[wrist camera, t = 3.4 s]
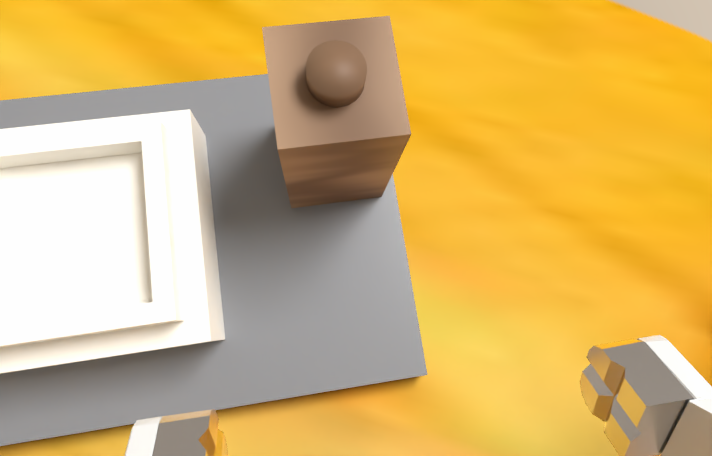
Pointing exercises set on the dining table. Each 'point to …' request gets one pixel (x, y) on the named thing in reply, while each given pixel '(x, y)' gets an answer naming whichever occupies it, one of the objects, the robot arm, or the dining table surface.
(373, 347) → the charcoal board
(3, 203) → the block
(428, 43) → the dining table surface
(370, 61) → the walnut pillar
